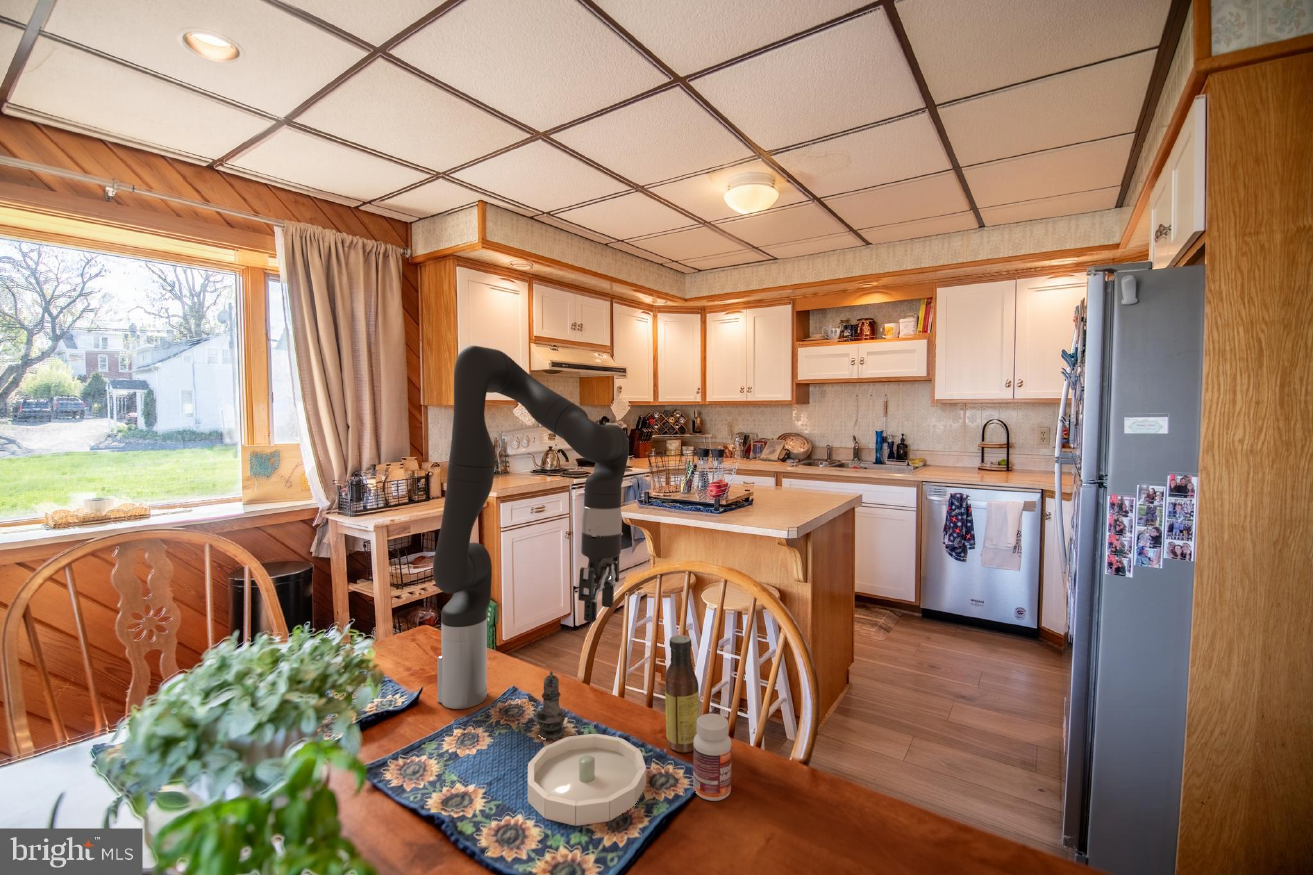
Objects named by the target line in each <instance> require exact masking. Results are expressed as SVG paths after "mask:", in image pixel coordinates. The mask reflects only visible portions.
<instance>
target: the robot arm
mask: <svg viewBox="0 0 1313 875" xmlns="http://www.w3.org/2000/svg"><path fill="white" fill-rule="evenodd" d="M490 393H491V394H492V393H493V394H495V393H496V394H500V395H501V396H505V397H507V398H509V399H511V400H513V401H515V402H517V403H518V404H520V405H521V406H522V407H523V408H524V409H525V410H526V412H528V414H529V415H530V417H532V419H534V420H535V422H537V423H538V424H539V425H541V426H542V427H544V428H545V429H547V430H548V431H549V432H551V433H553V434H554V435H556V436H557V437H559V438H562V439H563V440H564V441H565V442H566V444H567V445H569V447H570V448H572V449H573V451H574V452H576V453H577V454H578V455H579V456H580V457H581V458H583V459H585V460H587V461H589V462H591V463H595V464H594V468H593V472H592V473H591V474H590V475H589V476H587V478H586V479H585V481H584V482H585V483H584V489H583V490H584V493H583V494H584V497H583V498H584V499H583V500H584V501H583V512H582V519H581V520H582V521H581V545H580V546H581V547H580V549H581V551H580V552H581V554H582V555H583V556H584V557H586V558H588V562H587V567H583V566H581V567H580V569H579V577H578V578H579V579H578V580H579V583H578V596H577V597H578V601H579V602H580V601H581V602H584V606H583V607H584V608H583V621H585V622H588V623H595V622H596V621H597V618H598V617H597V613H598V612H597V611H598V599H599V598H598V597H599V594H600V592H601V606H602V607H603V608H609V609H610V608H612V607H614V601H615V600H614V597H615V593H614V592H615V588H616V586H617V584H616V583H619V582H620V555H621V551H622V528H623V527H622V526H623V521H622V519H623V515H622V484H623V480H624V477H625V473H626V468H627V463H628V460H629V454H630V442H629V438H628V435H627V433H626V431H625V430H624V429H623V428H622V427H620V426H618V425H614V424H599V423H597V422H595V421H594V420H592V419H590V418H589V416H588V413H587V412H586V410H585V409H583V408H582V407H580V406H579V405H578V404H576V403H575V402H573V401H570V400H569V399H568V398H566V397H564V396H562V395H561V394H559V393H557V392H556V391H553V390H552V389H550V387H548V386H546V385H544V384H543V383H541V382H540V381H539V380H537V379H536V378H534V377H533V376H532V375H531V374H529V372H527V371H526V370H525V369H523V368H522V367H521V366H520V365H519V364H518V363H517V362H516V361H515V360H514V359H513V358H511V356H509V355H508V354H507V353H505V352H503V351H501V350H499V349H496V348H495V349H494V348H489V347H484V346H479V345H467V346H466V347H464V348H462V349H461V351H460V352H459V354H458V355H457V358H456V361H455V363H454V372H453V418H452V429H451V430H452V431H451V442H450V443H451V444H450V452H449V456H448V466H447V475H446V488H445V489H446V490H445V497H444V504H443V510H442V519H441V524H440V530H439V533H438V534H439V535H438V540H437V543H436V548H435V552H434V556H433V563H432V576H433V580H434V582H435V586H437V588H438V589H439V590H440V591H441V592H443V593H445V594H450V595H451V594H452V597H451V598H450V600H448V602H447V603H446V604H445V605H444V606H443V607H442V608H441V609H442V610H441V611H440V612H441V615H440V617H441V618H440V619H441V620H440V621H441V626H440V627H441V631H440V632H441V634H440V635H441V637H440V638H441V640H440V641H441V642H440V643H441V655H439V656H437V659H436V660H437V664H436V665H437V670H436V671H437V702H438V703H441V704H442V705H443V706H444V707H445V708H447V709H453V710H462V709H463V710H464V709H469V708H472V707H475V706H477V705H480V704H481V703H483V702H485V700H486V699H487V696H488V694H487V693H488V684H487V683H488V678H487V677H488V668H487V667H488V664H487V663H488V660H487V658H488V653H487V652H488V651H487V650H488V649H487V648H488V646H487V644H488V639H487V638H488V636H487V634H488V632H487V630H488V629H487V628H488V627H487V626H488V625H487V624H488V620H487V618H488V615H487V614H488V609H489V606H490V604H491V598H492V582H493V581H492V578H493V577H492V576H493V566H492V557H491V555H490V553H489V551H488V549H487V548H486V547H485V546H484V545H483V544H481V543H479V542H471V536H472V532H473V528H474V526H475V523H476V521H477V519H478V517H479V514H481V511H482V509H483V508H484V506H485V504H486V501H487V500H488V498H489V496H490V494H491V491H492V488H493V484H494V477H495V476H494V475H495V468H496V467H495V466H496V452H495V448H494V445H493V441H492V439H491V435H490V433H489V430H488V428H487V424H486V417H485V412H486V411H485V410H486V398H487V394H490Z"/></svg>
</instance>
